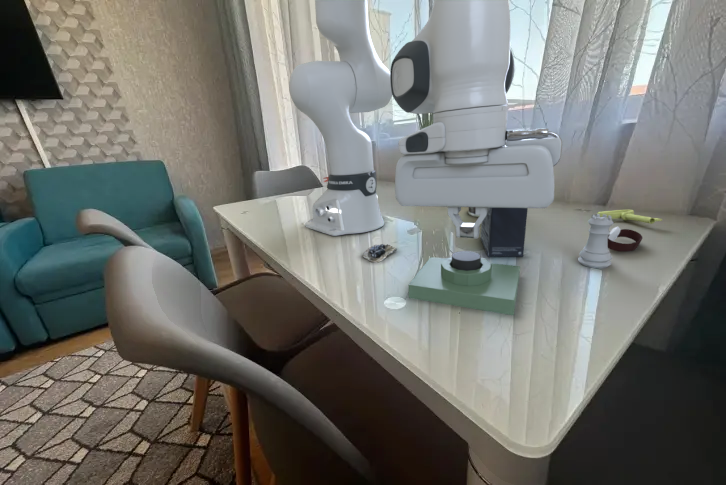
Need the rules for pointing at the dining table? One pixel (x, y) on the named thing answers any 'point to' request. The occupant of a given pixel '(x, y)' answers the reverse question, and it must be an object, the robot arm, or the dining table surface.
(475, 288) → the button box
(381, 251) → the blueberries
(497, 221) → the small box
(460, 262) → the spray button
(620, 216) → the yellow-green branched tube
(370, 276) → the dining table surface
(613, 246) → the watch
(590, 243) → the rook chess piece
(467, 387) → the dining table surface
